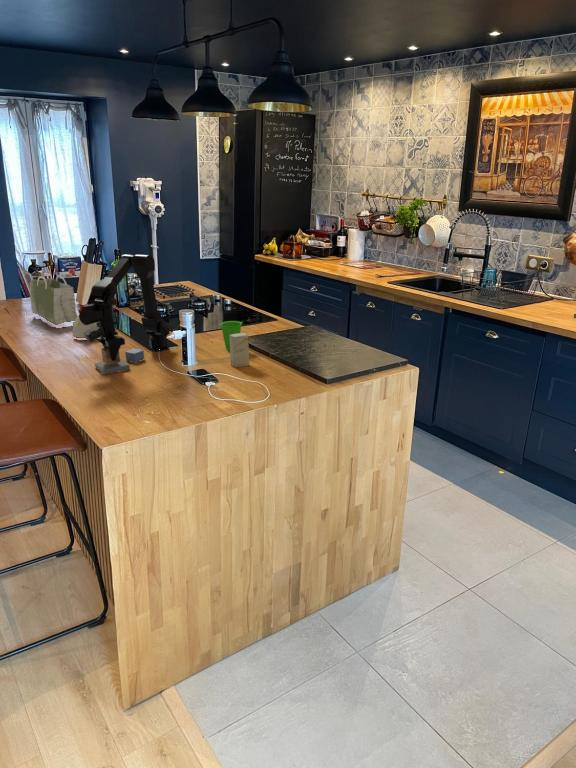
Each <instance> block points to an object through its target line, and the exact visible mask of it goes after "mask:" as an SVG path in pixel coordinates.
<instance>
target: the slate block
mask: <svg viewBox="0 0 576 768" xmlns="http://www.w3.org/2000/svg"><path fill="white" fill-rule="evenodd" d="M124 353H125V360H127V361H126V362H128V361H132V362H131V363H133V362H137V363H139V362H141V361H140V360H142V361H144V360H143V359H145V351H144V349H138V348H133V349H129V350H126V351H125V352H124ZM138 361H139V362H138Z"/></svg>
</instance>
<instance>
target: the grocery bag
mask: <svg viewBox="0 0 576 768" xmlns="http://www.w3.org/2000/svg"><path fill="white" fill-rule="evenodd" d="M59 278H61V279H62V281H63V282H64V283H62V282H60V281H59V280H58V279H59ZM29 282H30V283H29V300H30V305H31V311H32V314H33V313H35V314H38V315H39V316H41V317H43V318H45V319H46V320H47V321H49V322H51V323H53V324H55V325H58V324H61V323H64V322H71V321H75V320H76V318H77V317H78V316H79V315H78V314H77V310H76V298H75V291H74V286H71V285H69V284H67V281H66V280H65V278H64V277H63V276H62V275H59V274H58V275H57V276H56V277H55V279H54V278H51V277H48V278H45V276H42V275H39V276H38V278H37V279H32V278H30V281H29Z"/></svg>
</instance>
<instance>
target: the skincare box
mask: <svg viewBox="0 0 576 768" xmlns="http://www.w3.org/2000/svg"><path fill="white" fill-rule="evenodd" d="M229 338H230V351H229V353H230V354H229V355H230V356H229V358H230V365H231V366H232V367H233V368H241V367H248V366H250V355H249V352H250V350H249V349H250V348H249V334H248V333H245V332H240V333H237V334H230V335H229Z"/></svg>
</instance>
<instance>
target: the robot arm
mask: <svg viewBox="0 0 576 768" xmlns="http://www.w3.org/2000/svg"><path fill="white" fill-rule="evenodd" d="M155 266H156V263H155V259H154V257H153V256H152V255H150V254H135V255H133V254H126V253H125V254H122V255H121V257H120V259H119V261H118V262H117V263H116V264H115V265H114V267H113V268H112V269H111V271H110V272H109V273H108V274H107V275H106V277H105V278H102V279H101V280H99V281H97V282H96V283H94V284H93V286H92V287H91V289H90V290H91V291H90V294H89V297H88V300H87V302H86V304H87V305H85V304H83V305H84V306H83V305H82V310H81V311H80V313H79V312H78V313H79V314H78V316H79V319H80V321H81V322H82V323H83V324H84V325H90V324H93V323H96V326H95V327H93V328H91V329H89V330H87V331H85V332H84V333H83V334H84V335H85V337H86V339H87V341H86V342H89V343H93V342H94V341H95V339H97V338H99V339H97V340H96V341H97V342H99V343H100V344H101V345H102V348H108V349H109V352H110V355H111V359H112V361H115V360H116V357H117V354H118V351H119V352H120V349H121V346H125V345H126V341H125V338H124V337H122V336H121V335H118V331H117V329H116V325H117V320H115V314H114V307H113V306H115V305H117V302H116V301H115V300H114V297H115V296H116V294H117V292H118V289H117V287H118V286H119V284H120V283H121V282H122V281H123V279H124V278H125V277H126V275H127V274H128V273H129V272H130V270H131V269H132V268H133V270H134V271H133V272H134V273H135V274H136V276H137V277H138V278H139V282H140V288H141V294H142V299H143V300H142V301H143V307H144V312H145V313H144V315H143V317H141V324H142V328H143V330H144V331H145V335H147V336H149V338H148V341H149V342H148V343H149V345H148V346H149V347H150V348H151V349H150V348H149V349H150V350H152V351H153V352H159V351H158V350H159V349H161V350H160V351H164V349H165V350H168V349H170V347H169V346H168V338H167V337H168V335H170V332H171V330H170V329H171V328H169V327H168V325H167V324H166V323H165V321H164V318H163V317H164V316H162V314H161V312H160V311H159V309H158V303H157V297H156V292H155V286H154V279H153V276H154V273H155V271H156V267H155Z"/></svg>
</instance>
